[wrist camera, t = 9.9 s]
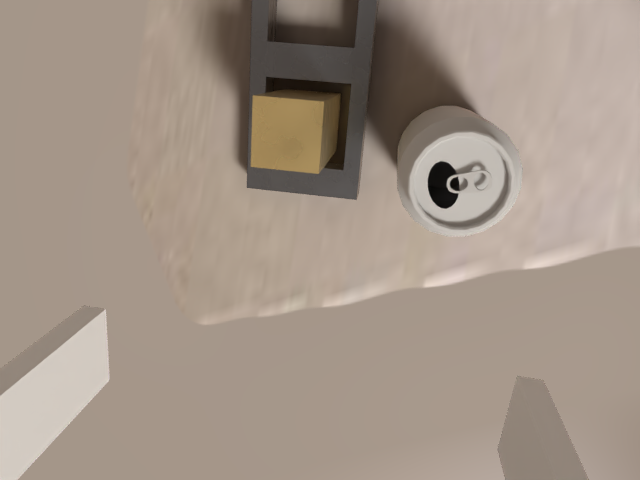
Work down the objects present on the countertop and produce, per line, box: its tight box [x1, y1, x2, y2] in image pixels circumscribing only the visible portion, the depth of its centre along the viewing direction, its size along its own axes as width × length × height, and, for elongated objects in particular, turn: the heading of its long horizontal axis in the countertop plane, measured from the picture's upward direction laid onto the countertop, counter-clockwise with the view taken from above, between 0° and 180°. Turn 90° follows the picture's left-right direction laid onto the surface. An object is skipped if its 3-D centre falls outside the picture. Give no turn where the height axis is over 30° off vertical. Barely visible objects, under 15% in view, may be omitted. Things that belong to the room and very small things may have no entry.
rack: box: [247, 0, 378, 200], centre depth 39 cm, size 9×20×2 cm, turn 176°
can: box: [397, 106, 523, 236], centre depth 35 cm, size 8×8×12 cm
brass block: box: [251, 89, 341, 174], centre depth 37 cm, size 4×4×10 cm
